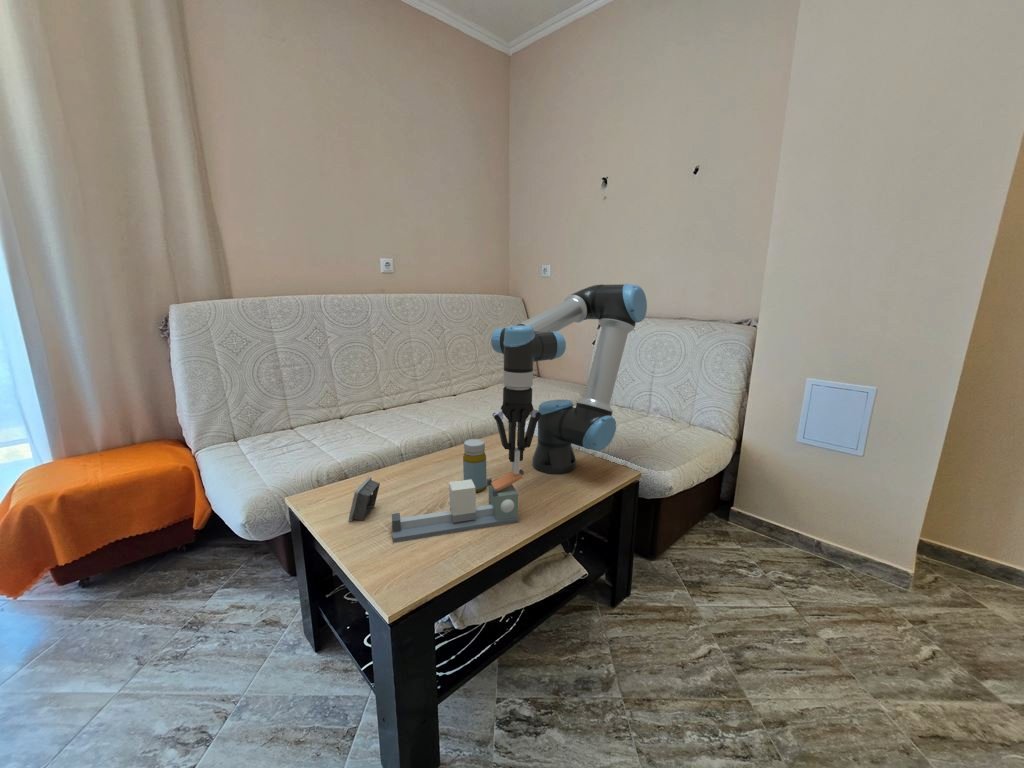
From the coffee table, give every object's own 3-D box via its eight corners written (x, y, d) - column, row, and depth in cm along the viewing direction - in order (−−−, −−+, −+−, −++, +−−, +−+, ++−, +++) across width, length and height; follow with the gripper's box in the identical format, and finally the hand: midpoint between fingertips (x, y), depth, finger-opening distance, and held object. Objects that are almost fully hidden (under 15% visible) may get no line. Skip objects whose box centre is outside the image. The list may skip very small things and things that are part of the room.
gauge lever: (492, 486, 113) (522, 470, 115) (496, 493, 109) (527, 477, 111) (490, 481, 113) (519, 465, 114) (494, 488, 109) (524, 471, 110)
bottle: (483, 494, 125) (482, 447, 122) (460, 492, 127) (459, 445, 123) (488, 483, 132) (488, 439, 129) (467, 481, 133) (466, 437, 130)
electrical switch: (362, 504, 119) (363, 474, 117) (380, 507, 119) (381, 477, 117) (347, 522, 110) (348, 490, 108) (367, 525, 110) (367, 493, 108)
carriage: (472, 509, 113) (471, 479, 111) (476, 519, 109) (475, 487, 107) (450, 513, 112) (449, 482, 110) (453, 522, 107) (452, 490, 105)
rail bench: (509, 505, 119) (509, 474, 117) (518, 522, 110) (518, 488, 108) (392, 523, 110) (390, 489, 108) (393, 542, 101) (390, 506, 99)
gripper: (536, 382, 112) (533, 464, 117) (490, 384, 109) (488, 468, 114) (546, 388, 105) (542, 475, 110) (497, 391, 102) (495, 480, 107)
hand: (515, 472), depth 112 cm, fingers closed
